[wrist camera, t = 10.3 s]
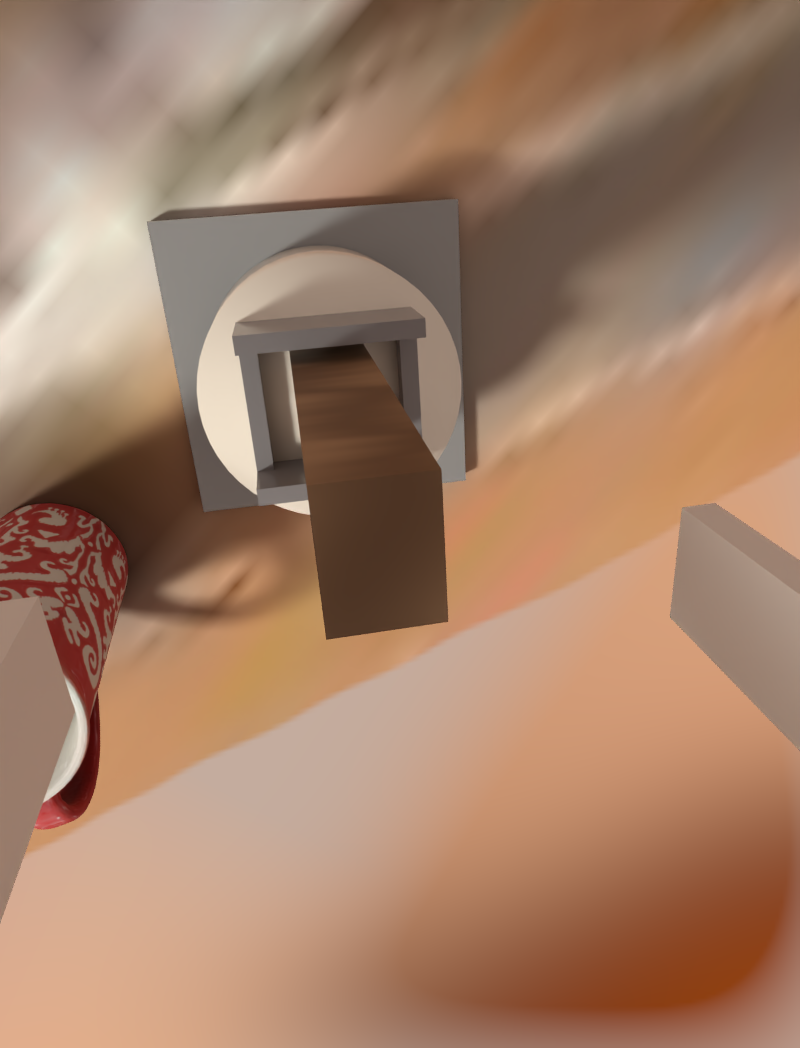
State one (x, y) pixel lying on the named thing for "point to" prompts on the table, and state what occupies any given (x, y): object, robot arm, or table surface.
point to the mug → (68, 626)
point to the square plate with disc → (307, 331)
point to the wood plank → (368, 497)
